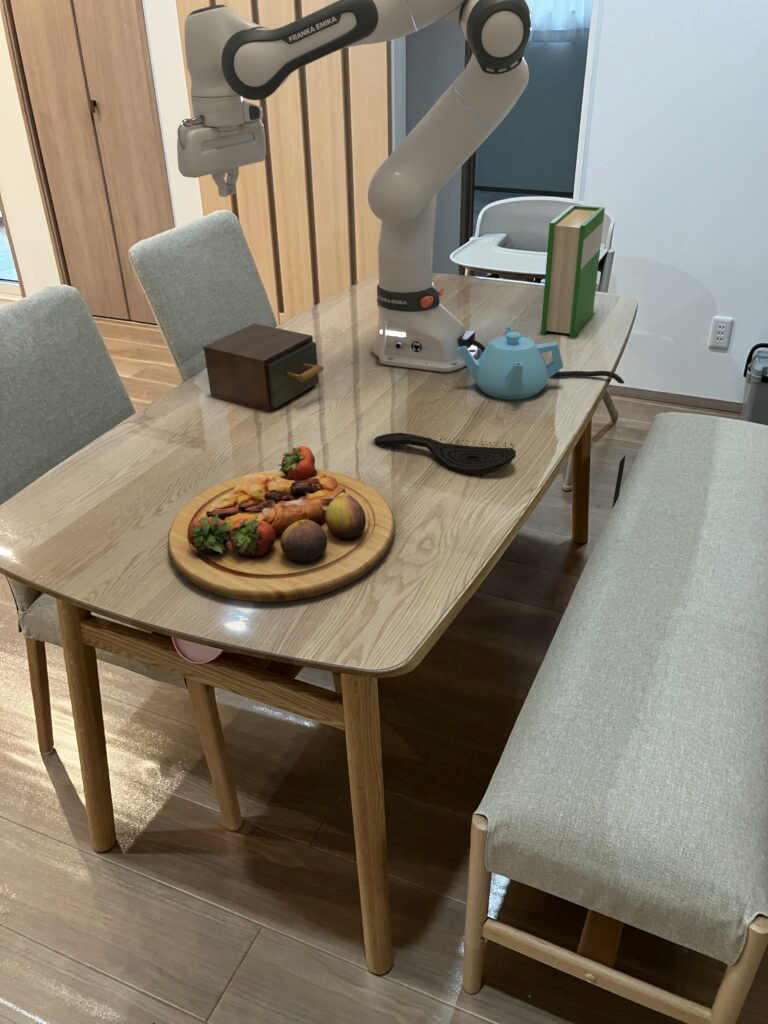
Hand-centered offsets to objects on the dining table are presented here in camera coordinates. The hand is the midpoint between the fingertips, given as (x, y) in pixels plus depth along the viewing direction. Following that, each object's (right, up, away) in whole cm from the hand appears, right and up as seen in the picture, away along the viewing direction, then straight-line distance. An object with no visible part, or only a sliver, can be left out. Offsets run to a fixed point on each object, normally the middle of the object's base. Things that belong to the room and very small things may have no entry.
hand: (227, 195), depth 154 cm
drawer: (+9, -35, +6) cm, 37 cm away
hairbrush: (+39, -50, -16) cm, 65 cm away
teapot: (+53, -35, +7) cm, 64 cm away
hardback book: (+71, -16, +36) cm, 81 cm away
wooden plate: (+15, -62, -35) cm, 73 cm away
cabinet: (+5, -35, +8) cm, 36 cm away
